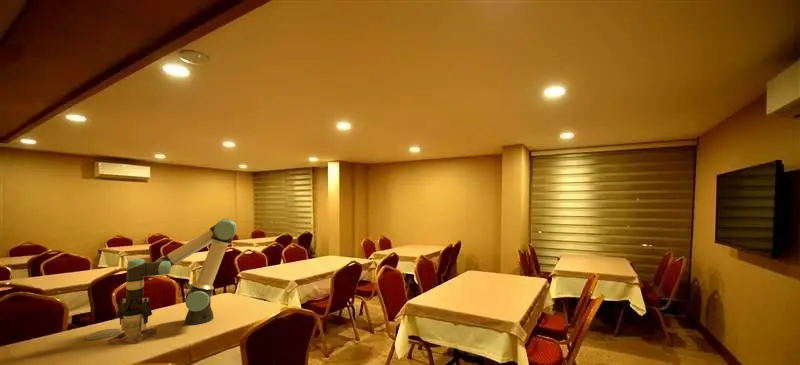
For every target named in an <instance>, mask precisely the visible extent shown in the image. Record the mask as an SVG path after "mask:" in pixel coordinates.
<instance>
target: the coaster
mask: <svg viewBox="0 0 800 365" xmlns="http://www.w3.org/2000/svg"><path fill="white" fill-rule="evenodd" d="M120 332H121V328H105V329H101V330H97V331H94V332H91V333H89V334H87V335H86V336H85V340H86V341H91V342H92V341H99V340H104V339H108V338H109V339H110V338H113V337H116V336H117V335H119V334H121V333H120Z"/></svg>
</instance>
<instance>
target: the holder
mask: <svg viewBox="0 0 800 365" xmlns="http://www.w3.org/2000/svg"><path fill="white" fill-rule="evenodd" d="M155 333H157V328H155V327H151V328H146V329H145V330H143V331H141V336H140V337H138V338H126V335H125V331H123V332H121V333H119V334H117V335H115V336H113V337H111V338H109V339H108V345H120V344H121V345H125V344H139V343H141V342H142V341H144V340H146V339H147V338H149V337H151V336H152V335H155Z"/></svg>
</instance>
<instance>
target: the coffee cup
mask: <svg viewBox="0 0 800 365" xmlns="http://www.w3.org/2000/svg"><path fill="white" fill-rule="evenodd" d="M123 311H124V310H123ZM122 316H123V318H124V329H125V331H124V332H125V335H126V336H125V338H138V337H140V336H141V335H142V334H141V323H142V318H143V316H142V313H141V310H139V309H138V308H137V307H131V308H130V309H129V310H127V311H124V313H123V315H122Z"/></svg>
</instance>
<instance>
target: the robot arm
mask: <svg viewBox="0 0 800 365" xmlns="http://www.w3.org/2000/svg"><path fill="white" fill-rule="evenodd" d="M237 231H238V226H237V224H236V222H235V221H234V220H232V219H231V218H223V219H221V220H219V221H218V222H217V223H216V224H214V225H212V226H211V227H209V229H208V231H205V232H203V233H202V234H200V235H198V236H197V237H195V238H194V239H192V240H190V241H189V242H187V243H185V244H183V245H181V246H180V247H178V248H176V249H174V250H173V251H171V252H169V253H167V254H166V255H164V256H162V257H160V258H158V259H157V260H156V261H152V262H151V261H149V262H147V261H146V260H145V259H144V258H137V259H131V260H129V261H128V262H127V266H126V282H125V283H126V284H125V286H126V287H125V289H126V291H125V297H126V298H125V297H124V298H121V299H119V305H118V309H117V312H116V315H115V318H116V319H119V325H120V332H121V333H123V332H125V329H124V318H123V316H122V315H123V313H124V311H127V310H129V309H131V308H132V307H135V308H138V309H139V310H141V313H142V316H143V318H142V323H141V331H143V330H145V329H147V324H148V323H149V317H150V316H152V315H153V312H152V308H151V304H150V297H148V296H147V297H144V292H145V288H144V286H145V277H153V276H165V275H169V274H170V273H171V270H172V269H171V268H172V267H174V266H175V265H176V264H179V263H180V262H182V261H183V260H185V259H186V258H187V259H188V258H189V257H190V256H192V255H194V254H195V253H197V252H199V251H200V250H202V249H204V248H205V247H207V246H209V245H210V247H209V250H208V252H207V254H206V257H205V259H204V261H203V264H202V267H201V270H200V272H199V274H198V277H197V280H196V281H195V282H193V283H190V284H189V287H188V294H187V297H186V298H185V307H186V308H187V309H188V310H187V313H186V315H185V317H184V318H185V319H184V323H185V325H188V326H190V325H191V326H192V325H200V324H201V325H202V324H204V323H208V322H210V321H213V320H214V312H213V310H212V306H211V300H212V294H213V291H214V289H215V287H214V285H213V284H214V281H215V279H216V276H217V274H218V271H219V268H220V266H221V263H222V261H223V258H224V256H225V253H226V250H227V248H228V246H229V245H231V244H232V242H233V240H234V237H235V236H236V234H237ZM145 261H146V262H145Z"/></svg>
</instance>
